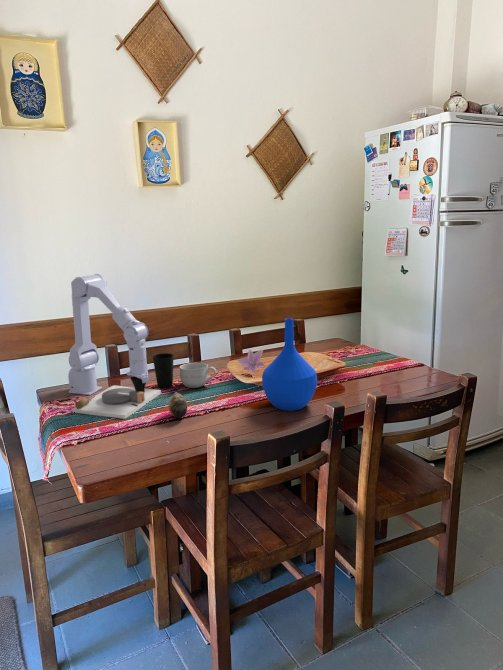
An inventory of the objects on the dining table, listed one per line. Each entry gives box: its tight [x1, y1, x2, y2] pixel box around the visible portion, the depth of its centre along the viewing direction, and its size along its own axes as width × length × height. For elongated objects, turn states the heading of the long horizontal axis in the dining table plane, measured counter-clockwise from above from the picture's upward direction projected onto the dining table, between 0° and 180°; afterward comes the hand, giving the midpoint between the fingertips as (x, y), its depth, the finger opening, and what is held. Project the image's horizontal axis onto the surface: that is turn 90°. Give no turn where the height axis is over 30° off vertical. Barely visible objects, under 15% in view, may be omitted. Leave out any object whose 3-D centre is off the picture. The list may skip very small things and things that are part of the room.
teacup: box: [179, 362, 217, 389], centre depth 195 cm, size 14×11×8 cm
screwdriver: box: [74, 394, 96, 409], centre depth 176 cm, size 9×2×2 cm, turn 161°
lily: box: [237, 349, 266, 374], centre depth 207 cm, size 12×12×10 cm
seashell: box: [167, 391, 188, 419], centre depth 166 cm, size 10×6×8 cm, turn 24°
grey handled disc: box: [102, 388, 145, 404], centre depth 179 cm, size 16×11×3 cm
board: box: [72, 385, 162, 420], centre depth 181 cm, size 20×24×1 cm
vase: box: [261, 317, 318, 412], centre depth 171 cm, size 18×18×30 cm
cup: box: [152, 352, 175, 390], centre depth 194 cm, size 8×8×12 cm
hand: (140, 396), depth 180 cm, fingers closed, pressing on grey handled disc
